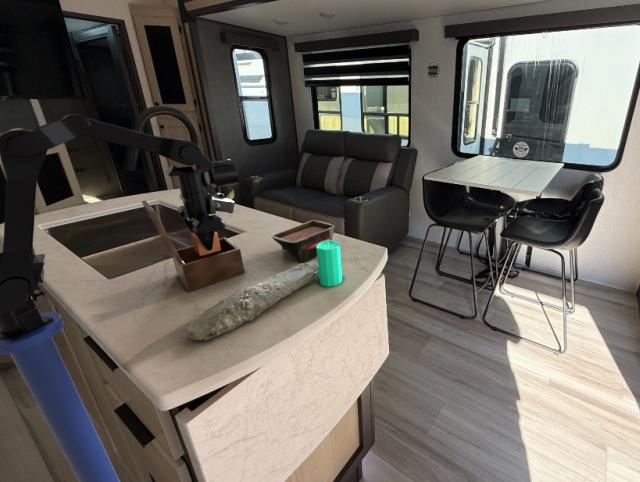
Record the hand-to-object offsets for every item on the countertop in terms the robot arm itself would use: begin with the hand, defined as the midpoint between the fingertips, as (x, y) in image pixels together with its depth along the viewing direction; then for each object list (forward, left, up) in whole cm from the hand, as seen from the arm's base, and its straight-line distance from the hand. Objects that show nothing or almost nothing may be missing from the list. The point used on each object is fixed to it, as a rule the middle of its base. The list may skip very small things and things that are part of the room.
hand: (206, 247), depth 85 cm
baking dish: (+20, +18, -8) cm, 28 cm away
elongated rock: (+22, -9, -8) cm, 25 cm away
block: (0, 0, -1) cm, 1 cm away
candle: (+34, +2, -8) cm, 35 cm away
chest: (0, 0, -8) cm, 8 cm away
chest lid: (-5, -7, +7) cm, 11 cm away
